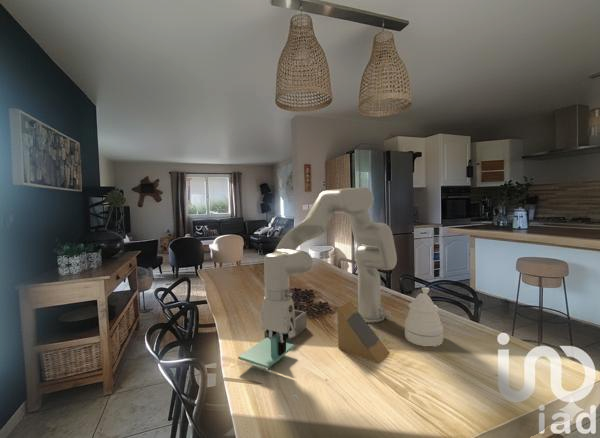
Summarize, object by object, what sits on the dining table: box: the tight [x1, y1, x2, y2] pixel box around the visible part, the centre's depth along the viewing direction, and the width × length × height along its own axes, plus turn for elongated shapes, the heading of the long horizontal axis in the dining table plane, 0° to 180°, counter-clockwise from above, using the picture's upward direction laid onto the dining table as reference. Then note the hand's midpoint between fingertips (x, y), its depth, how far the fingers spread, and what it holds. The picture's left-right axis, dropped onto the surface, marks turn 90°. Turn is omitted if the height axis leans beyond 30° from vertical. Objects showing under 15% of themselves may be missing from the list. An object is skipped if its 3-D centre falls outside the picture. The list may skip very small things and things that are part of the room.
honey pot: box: [404, 287, 444, 347], centre depth 104 cm, size 13×13×18 cm
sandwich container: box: [337, 300, 390, 364], centre depth 96 cm, size 9×15×15 cm, turn 50°
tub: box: [263, 309, 307, 343], centre depth 110 cm, size 11×14×7 cm
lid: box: [237, 332, 295, 370], centre depth 90 cm, size 11×14×8 cm
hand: (278, 351), depth 88 cm, fingers closed on lid
